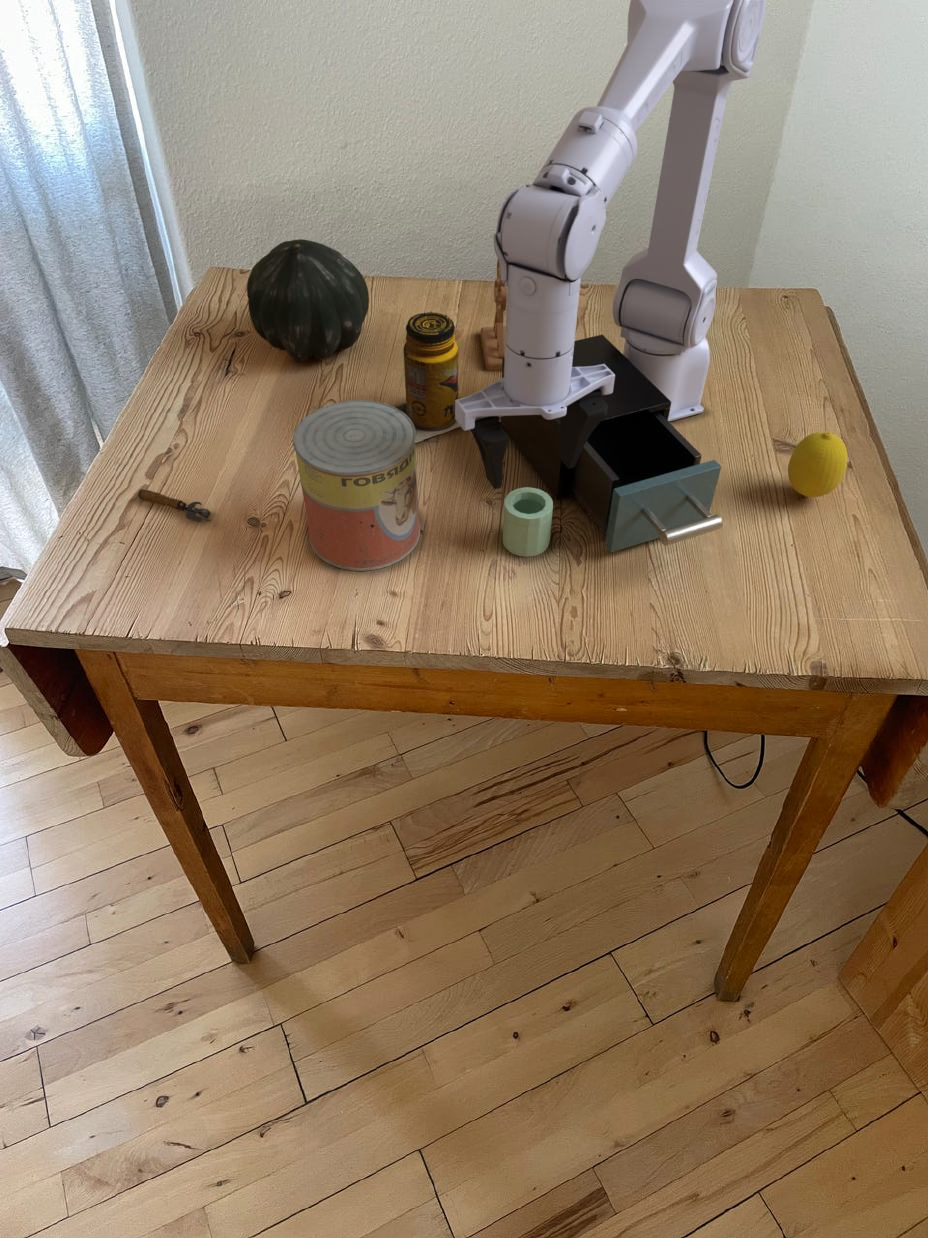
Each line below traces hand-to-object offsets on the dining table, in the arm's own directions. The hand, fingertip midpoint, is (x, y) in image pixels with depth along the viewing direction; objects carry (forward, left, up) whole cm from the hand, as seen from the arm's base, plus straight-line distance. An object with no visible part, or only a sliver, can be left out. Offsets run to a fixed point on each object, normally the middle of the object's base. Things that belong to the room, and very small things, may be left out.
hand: (530, 472), depth 85 cm
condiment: (+1, -24, -9) cm, 25 cm away
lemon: (-31, +5, -9) cm, 32 cm away
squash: (+8, -45, -9) cm, 46 cm away
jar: (0, 0, -9) cm, 9 cm away
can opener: (+31, -19, -9) cm, 38 cm away
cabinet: (-12, -12, -9) cm, 19 cm away
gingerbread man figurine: (-13, -34, -9) cm, 37 cm away
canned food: (+14, -8, -9) cm, 19 cm away
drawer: (-12, +1, -8) cm, 14 cm away
